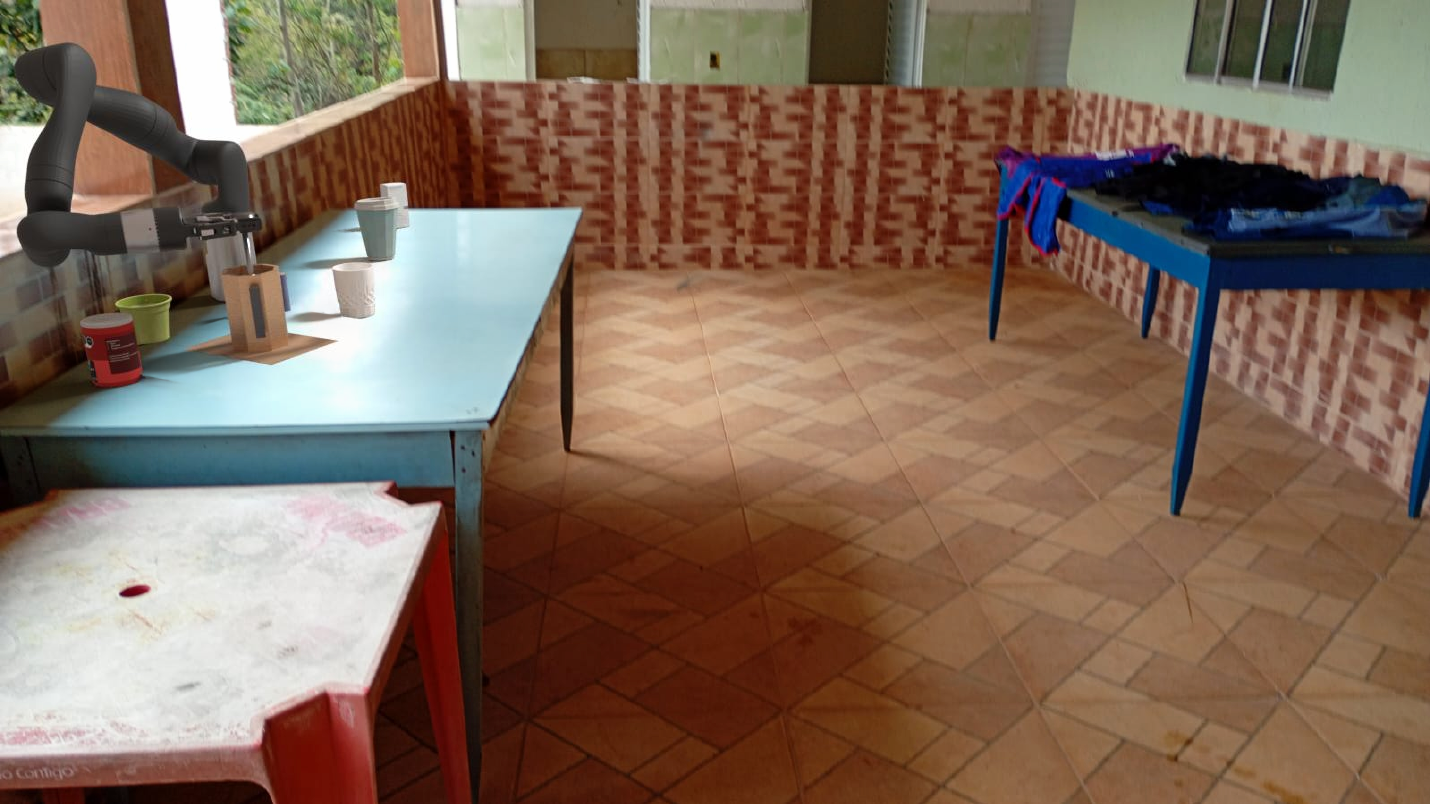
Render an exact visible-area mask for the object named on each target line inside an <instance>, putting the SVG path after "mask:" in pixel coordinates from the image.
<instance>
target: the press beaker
mask: <svg viewBox="0 0 1430 804" xmlns="http://www.w3.org/2000/svg"><path fill="white" fill-rule="evenodd" d="M253 271H254V274H252V275H248V271H247V265H239V266H235V267H231V268H227V269H223V271H222V274H221V276H222V282H223V288H224V295H225V301H224V302H225V306H226V312H227V313H226V314H227V319H228V325H229V331H230V333H229V334H231V339H232V346H233V350H234V351H240V352H246V353H255V352H265V351H273V350H276V349H279V348H282V347H285V346H287V345H288V344H289V337H288V333H289V331H288V325H287V318H286V312H285V309H284V302H283V294H282V287H281V280H280V273H279V272H280V267H279V265H277V264H268V263H256V264H253Z"/></svg>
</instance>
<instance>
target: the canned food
mask: <svg viewBox="0 0 1430 804" xmlns="http://www.w3.org/2000/svg"><path fill="white" fill-rule="evenodd" d="M79 322H80V324H79V325H80V330H81V335H82V341H83V344H84V345H83V346H84V350H85V354H86V360H87V364H88V369H89V374H90V379H91V381H92V383H93V384H95V385H94V386H97V387H98V386H99V387H100V388H107V387H110V388H120V387H125V386H130V385H133V384H136V383H138V382H140V381H141V380H142V379H143V372H144V371H143V367H142V361H141V355H140V351H139V349H140V348H139V345H138V344H137V338H136V333H135V327H134V323H133V318H132V315H130V314H127V313H121V312H108V313H100V314H93V315H90V316H87V317H85V318H83V319H80V321H79Z"/></svg>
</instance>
